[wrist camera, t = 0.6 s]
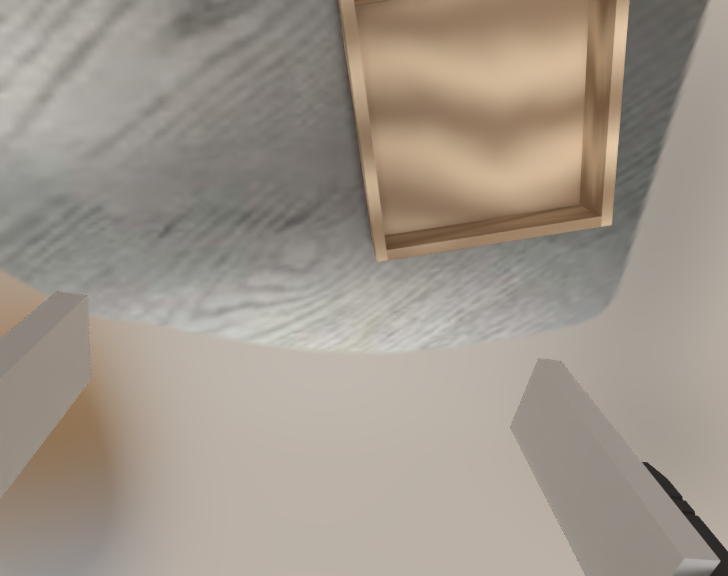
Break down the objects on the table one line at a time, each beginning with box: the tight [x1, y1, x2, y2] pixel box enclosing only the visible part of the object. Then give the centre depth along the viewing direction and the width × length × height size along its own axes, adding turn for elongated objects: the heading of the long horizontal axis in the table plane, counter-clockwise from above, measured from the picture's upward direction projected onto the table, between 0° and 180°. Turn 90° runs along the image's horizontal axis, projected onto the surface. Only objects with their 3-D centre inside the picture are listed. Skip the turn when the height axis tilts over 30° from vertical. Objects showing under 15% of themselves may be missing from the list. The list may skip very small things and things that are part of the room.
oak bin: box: [338, 0, 629, 262], centre depth 33 cm, size 18×18×4 cm
